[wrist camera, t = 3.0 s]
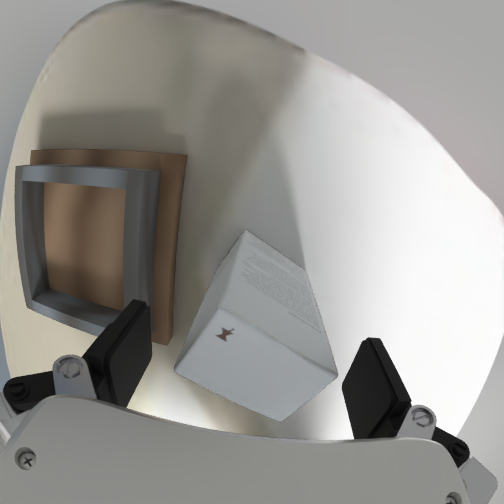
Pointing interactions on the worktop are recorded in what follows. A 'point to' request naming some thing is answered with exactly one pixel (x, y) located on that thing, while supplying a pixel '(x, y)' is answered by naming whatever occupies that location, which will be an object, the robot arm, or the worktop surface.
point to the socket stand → (99, 235)
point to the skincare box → (259, 333)
